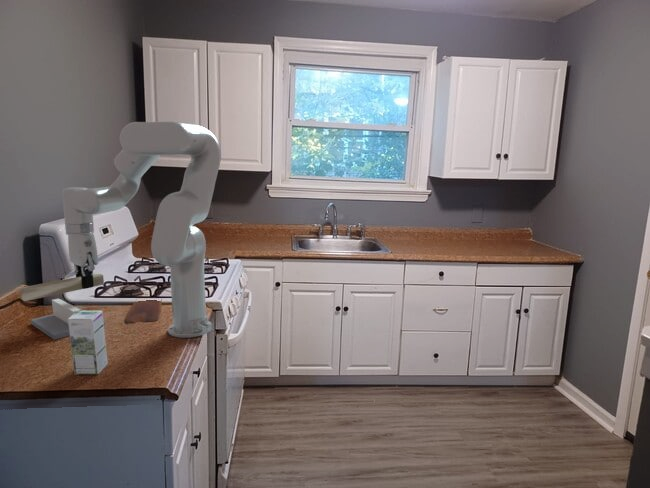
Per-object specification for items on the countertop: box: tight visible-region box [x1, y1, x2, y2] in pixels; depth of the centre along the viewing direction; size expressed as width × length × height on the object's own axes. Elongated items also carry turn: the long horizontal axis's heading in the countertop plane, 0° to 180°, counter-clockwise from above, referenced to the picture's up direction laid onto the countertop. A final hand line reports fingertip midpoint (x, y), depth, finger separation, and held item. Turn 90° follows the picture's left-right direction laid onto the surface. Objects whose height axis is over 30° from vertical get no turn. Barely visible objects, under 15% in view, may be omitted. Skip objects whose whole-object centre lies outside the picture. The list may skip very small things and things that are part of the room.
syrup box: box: [68, 310, 108, 376], centre depth 106 cm, size 6×6×14 cm
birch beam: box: [18, 272, 105, 302], centre depth 133 cm, size 3×22×3 cm, turn 141°
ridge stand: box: [30, 297, 105, 341], centre depth 135 cm, size 18×14×6 cm
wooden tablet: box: [124, 300, 162, 324], centre depth 150 cm, size 27×10×2 cm, turn 16°
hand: (85, 286), depth 137 cm, fingers closed on birch beam, 3 cm apart
